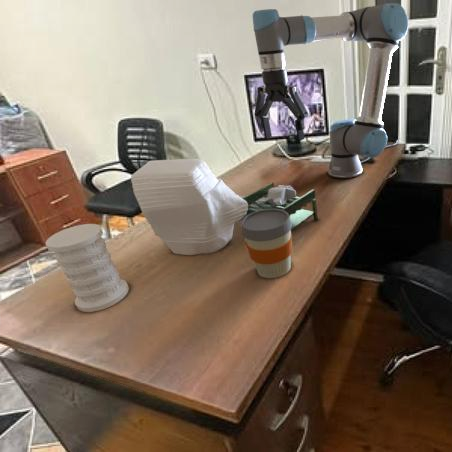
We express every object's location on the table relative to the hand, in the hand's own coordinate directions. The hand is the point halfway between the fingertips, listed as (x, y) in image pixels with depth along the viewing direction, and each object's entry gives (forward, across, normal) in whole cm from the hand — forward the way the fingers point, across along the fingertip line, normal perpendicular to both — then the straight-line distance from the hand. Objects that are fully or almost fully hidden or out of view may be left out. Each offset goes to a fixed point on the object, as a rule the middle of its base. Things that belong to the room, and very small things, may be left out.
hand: (284, 138), depth 116 cm
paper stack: (+25, -10, -35) cm, 44 cm away
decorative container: (+24, -15, -63) cm, 69 cm away
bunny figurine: (+17, +4, -13) cm, 22 cm away
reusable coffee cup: (+25, +18, -34) cm, 46 cm away
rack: (+25, +4, -13) cm, 29 cm away
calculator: (+25, -14, -10) cm, 30 cm away
